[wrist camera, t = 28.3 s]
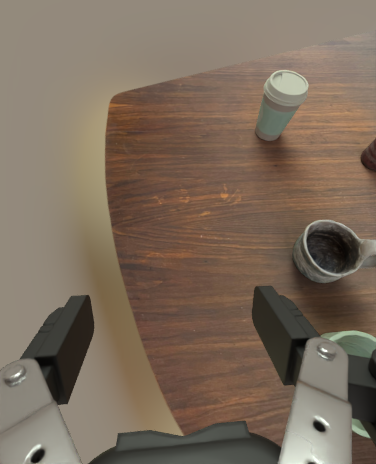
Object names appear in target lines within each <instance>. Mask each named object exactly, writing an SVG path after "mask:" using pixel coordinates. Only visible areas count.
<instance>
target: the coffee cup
mask: <svg viewBox="0 0 376 464" xmlns="http://www.w3.org/2000/svg"><path fill="white" fill-rule="evenodd" d="M307 94H308V82H307V81H306V79H305V78H304V77H303V76H301V75H300V74H298V73H296V72H293V71H288V70H280V71H276V72H274V73H273V74H272V75H271V76H270V78H269V79H268V80H267V81H266V83H265V85H264V95H263V99H262V103H261V107H260V111H259V115H258V119H257V124H256V128H255V132H256V134H257V135H258V137H260V138H261V139H263V140H266V141H273V140H276V139H277V138H278V137H279V136H280V134H281V133H282V131H283V130H284V128H285V127H286V126H287V124H288V123H289V121H290V120H291V118H292V117H293V115H294V114H295V112H296V111H297V109H298V108H299V106H300V105H301V104H302V103H303V102H304V101H305V100H306V97H307Z"/></svg>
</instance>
